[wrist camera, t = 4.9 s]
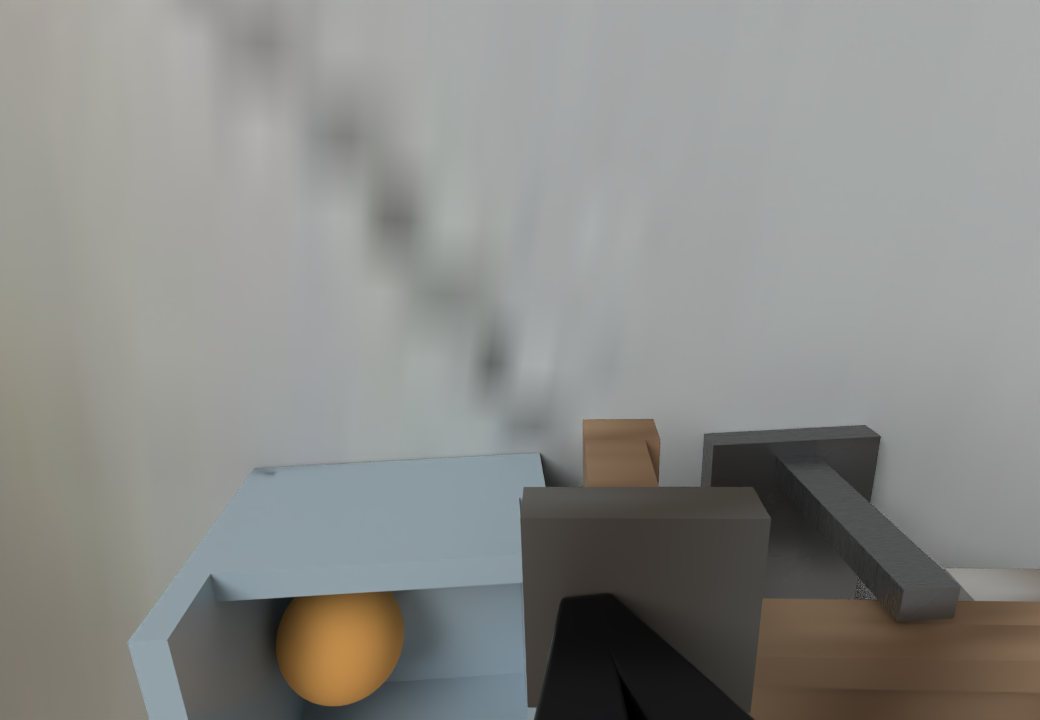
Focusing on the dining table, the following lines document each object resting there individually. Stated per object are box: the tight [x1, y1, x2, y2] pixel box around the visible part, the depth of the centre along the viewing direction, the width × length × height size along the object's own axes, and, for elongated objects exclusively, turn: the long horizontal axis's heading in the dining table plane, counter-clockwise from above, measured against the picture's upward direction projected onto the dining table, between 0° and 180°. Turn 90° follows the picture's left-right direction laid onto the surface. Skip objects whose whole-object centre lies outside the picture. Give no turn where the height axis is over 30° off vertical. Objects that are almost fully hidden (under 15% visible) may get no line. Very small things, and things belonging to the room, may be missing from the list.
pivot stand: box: [701, 425, 961, 622], centre depth 17 cm, size 5×9×7 cm, turn 2°
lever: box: [520, 419, 1040, 720], centre depth 13 cm, size 15×11×7 cm
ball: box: [276, 591, 404, 706], centre depth 18 cm, size 4×4×4 cm
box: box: [127, 453, 545, 720], centre depth 17 cm, size 8×8×7 cm
